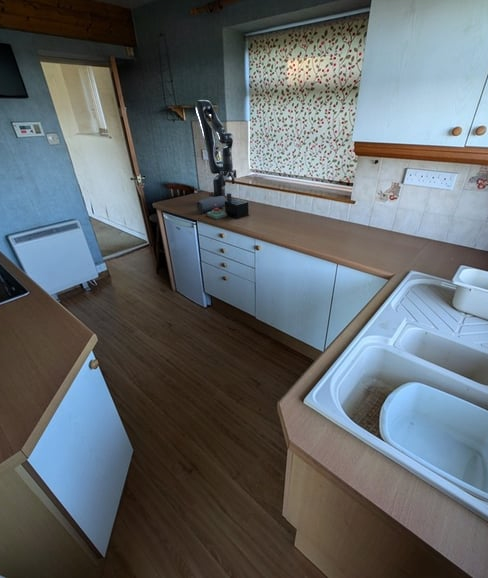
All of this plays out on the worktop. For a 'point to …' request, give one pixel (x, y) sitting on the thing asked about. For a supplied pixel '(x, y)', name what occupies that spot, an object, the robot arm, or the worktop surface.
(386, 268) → the worktop surface
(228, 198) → the slider
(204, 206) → the bluetooth speaker
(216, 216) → the button block
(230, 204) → the toaster
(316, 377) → the worktop surface
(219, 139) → the robot arm
